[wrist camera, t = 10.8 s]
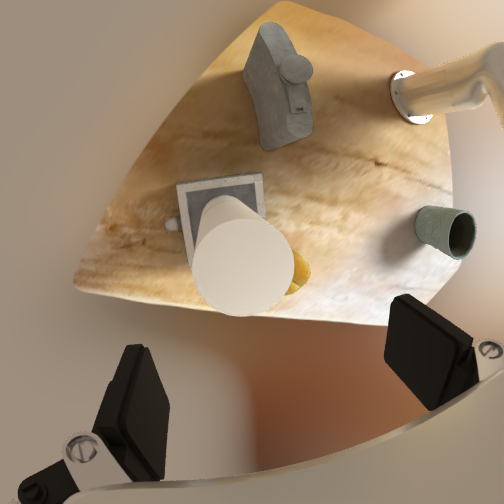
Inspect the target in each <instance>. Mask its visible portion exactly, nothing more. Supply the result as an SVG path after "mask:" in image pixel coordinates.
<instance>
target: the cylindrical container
mask: <svg viewBox="0 0 504 504" xmlns="http://www.w3.org/2000/svg"><path fill="white" fill-rule="evenodd" d="M293 275H294V256H293V253H292V250H291V247H290V245H289V243H288V242H287V240H286V238H285V237H284V236H283V235H282V234H281V233H280V232H279V231H278V230H277V229H276V228H275V227H273V226H272V225H271V224H270V223H268V222H267V221H266V220H264V219H263V218H262V217H261V216H259V215H258V214H257V213H255V212H254V211H253V210H252V209H250V208H249V207H248V206H246V205H245V204H244V203H242V202H241V201H240V200H238V199H237V198H235V197H233V196H229V195H220V196H217V197H214V198H213V199H211V200H210V201H209V202H208V203H207V204H206V205H205V207H204V209H203V211H202V215H201V220H200V225H199V230H198V235H197V241H196V246H195V252H194V258H193V264H192V276H193V280H194V284H195V287H196V289H197V291H198V293H199V294H200V296H201V297H202V298H203V300H204V301H205V302H206V303H207V304H209V305H210V306H211V307H212V308H214V309H216V310H217V311H219V312H221V313H224V314H227V315H231V316H251V315H255V314H259V313H261V312H264V311H266V310H268V309H269V308H271V307H272V306H274V305H275V304H276V303H277V302H278V301H279V300H281V299H282V297H283V296H284V295H285V293H286V292H287V291H288V289H289V286H290V284H291V282H292V279H293Z"/></svg>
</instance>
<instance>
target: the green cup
mask: <svg viewBox="0 0 504 504" xmlns="http://www.w3.org/2000/svg"><path fill="white" fill-rule="evenodd" d="M415 231H416V235H417V237H418V238H419V239H420V240H421V241H423V242H424V243H426V244H429V245H431V246H433V247H434V248H436V249H439V250H440V251H441V252H443V253H445V254H446V255H448V256H450V257H452V258H453V259H456V260H460V259H463V258H465V257H466V256H467V255H468V254H469V253H470V251H471V250H472V248H473V245H474V243H475V239H476V222H475V219H474V217H473V215H472V214H471V213H470V212H469V211H464V210H457V209H452V208H443V207H437V206H425V207H423V208H422V209H421V210H420V211H419V213H418V215H417V217H416V221H415Z"/></svg>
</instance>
